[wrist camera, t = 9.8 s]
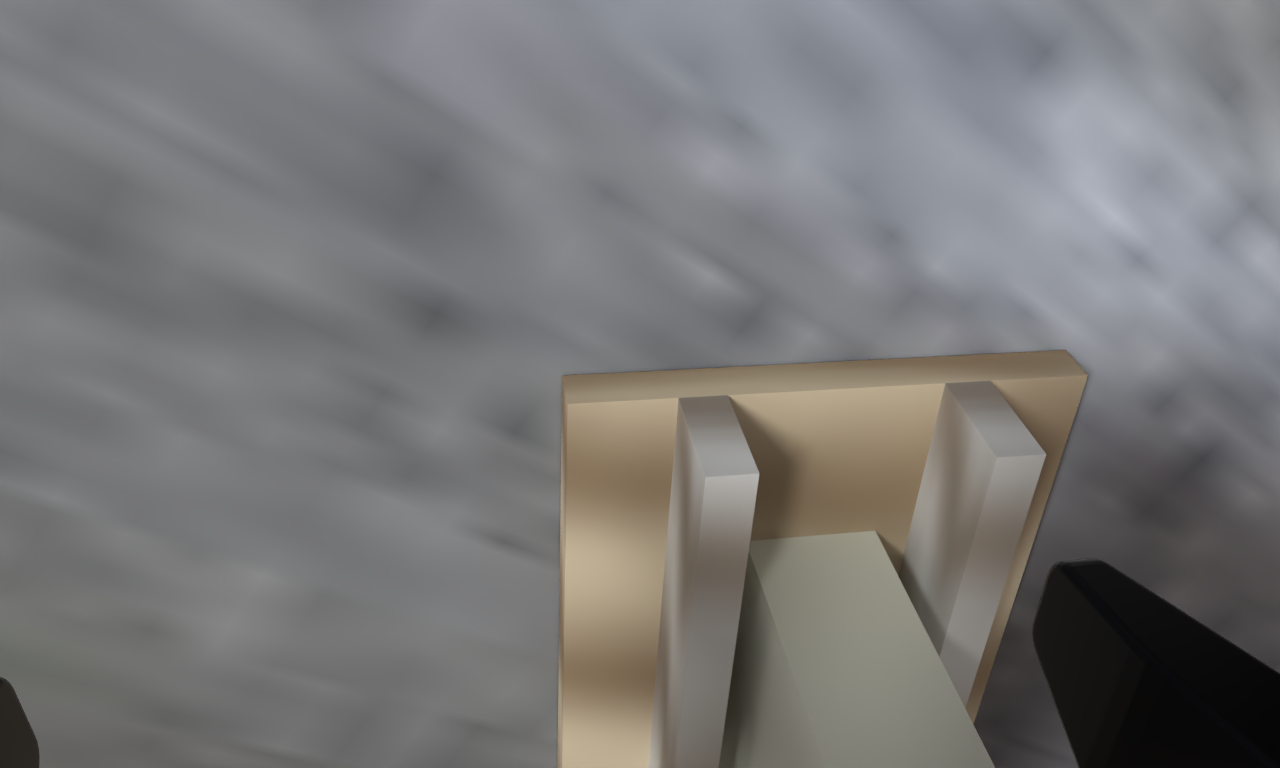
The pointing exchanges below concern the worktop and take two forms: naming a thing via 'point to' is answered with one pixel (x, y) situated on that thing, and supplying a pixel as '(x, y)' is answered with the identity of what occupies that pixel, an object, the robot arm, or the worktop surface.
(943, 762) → the door panel
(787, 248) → the worktop surface
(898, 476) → the track base
